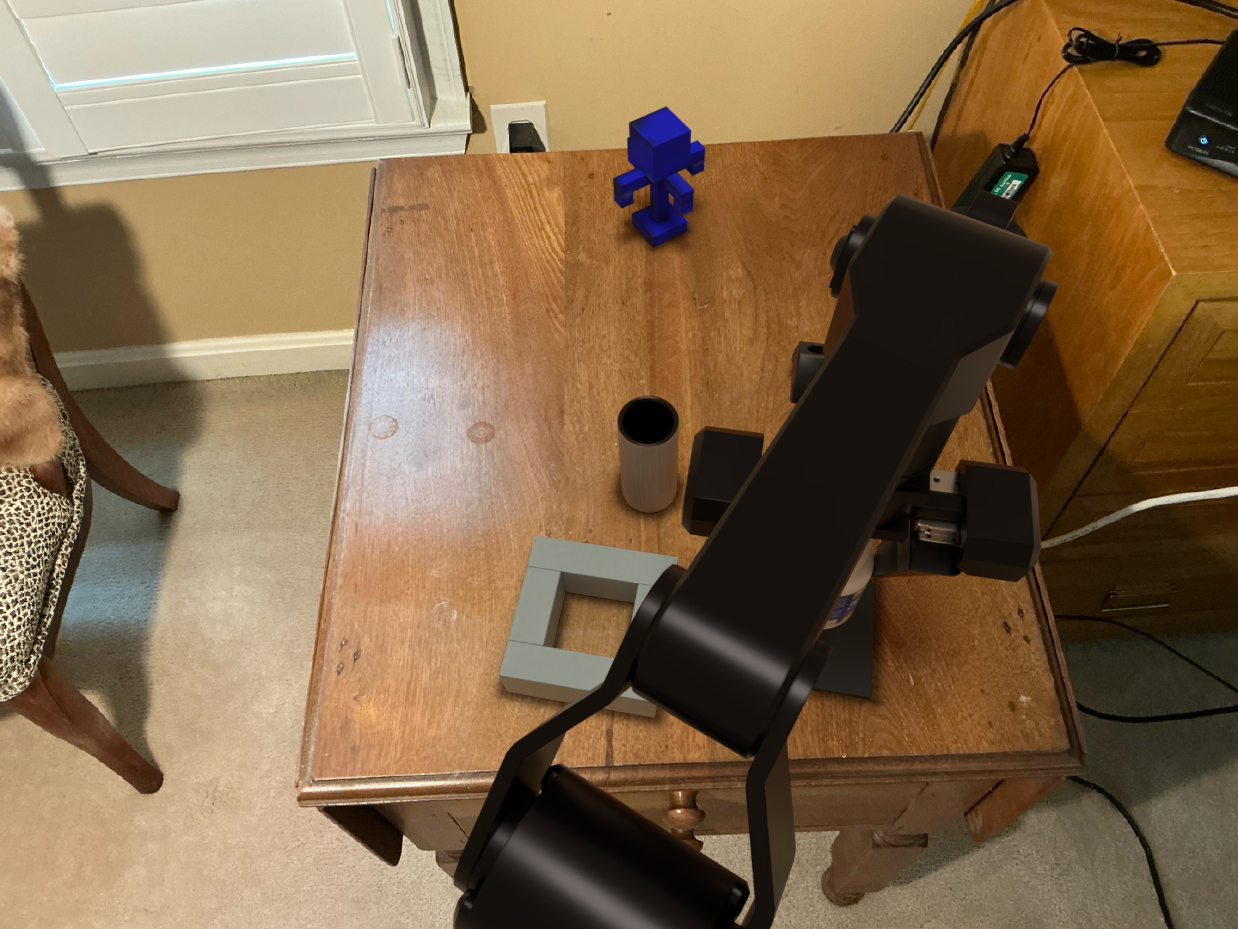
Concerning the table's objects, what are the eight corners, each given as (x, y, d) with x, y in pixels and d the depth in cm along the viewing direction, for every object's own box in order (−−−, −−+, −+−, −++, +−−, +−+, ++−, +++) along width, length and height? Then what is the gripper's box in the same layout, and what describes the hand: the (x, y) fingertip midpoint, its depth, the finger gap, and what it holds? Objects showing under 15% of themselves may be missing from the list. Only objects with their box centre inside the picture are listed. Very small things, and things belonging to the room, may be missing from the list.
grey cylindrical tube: (670, 518, 71) (672, 451, 63) (616, 508, 72) (610, 440, 63) (681, 471, 74) (684, 400, 65) (628, 461, 74) (625, 390, 66)
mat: (869, 699, 63) (870, 697, 63) (744, 678, 64) (745, 676, 64) (874, 584, 68) (875, 582, 68) (757, 567, 69) (757, 565, 69)
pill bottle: (854, 636, 59) (884, 582, 51) (775, 624, 59) (792, 569, 52) (857, 564, 61) (886, 503, 54) (781, 553, 62) (799, 491, 54)
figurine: (703, 206, 90) (709, 104, 80) (689, 260, 86) (693, 160, 76) (631, 196, 91) (628, 94, 81) (613, 248, 87) (608, 148, 77)
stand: (654, 718, 63) (654, 702, 60) (506, 692, 65) (498, 675, 61) (677, 578, 69) (678, 556, 65) (540, 557, 70) (534, 534, 67)
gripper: (1073, 323, 46) (978, 476, 59) (713, 283, 48) (700, 439, 61) (1093, 510, 40) (983, 633, 53) (684, 455, 42) (677, 586, 56)
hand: (830, 564), depth 56 cm, fingers closed on pill bottle, 5 cm apart
